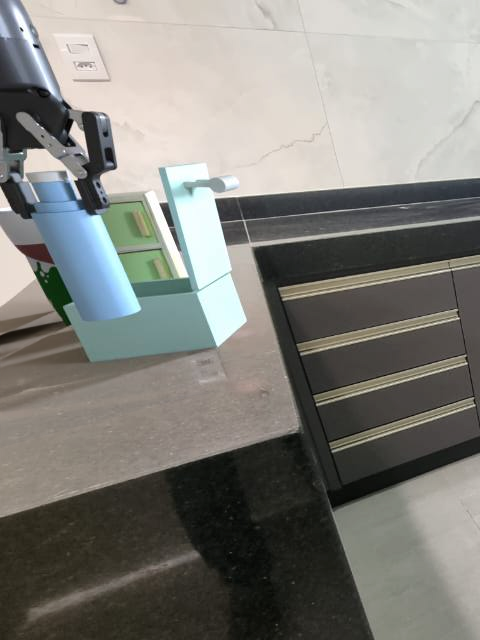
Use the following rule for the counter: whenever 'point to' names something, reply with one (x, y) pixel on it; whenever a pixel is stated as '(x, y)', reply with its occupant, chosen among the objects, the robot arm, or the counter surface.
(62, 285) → the milk carton
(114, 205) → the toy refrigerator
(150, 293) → the box
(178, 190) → the lid
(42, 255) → the wineglass
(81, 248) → the water bottle
